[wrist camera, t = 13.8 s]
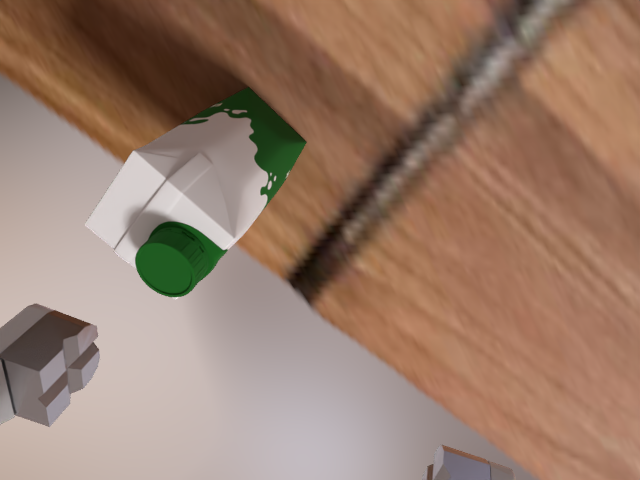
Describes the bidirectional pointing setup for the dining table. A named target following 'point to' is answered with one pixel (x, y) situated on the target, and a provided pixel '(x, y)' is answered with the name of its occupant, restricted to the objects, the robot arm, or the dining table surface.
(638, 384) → the dining table surface
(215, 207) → the milk carton
